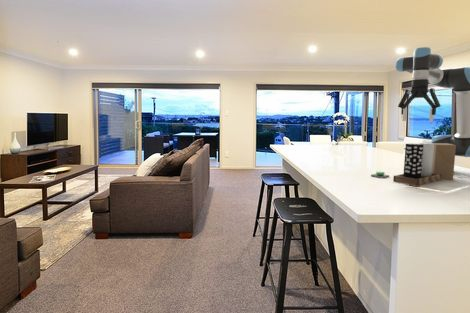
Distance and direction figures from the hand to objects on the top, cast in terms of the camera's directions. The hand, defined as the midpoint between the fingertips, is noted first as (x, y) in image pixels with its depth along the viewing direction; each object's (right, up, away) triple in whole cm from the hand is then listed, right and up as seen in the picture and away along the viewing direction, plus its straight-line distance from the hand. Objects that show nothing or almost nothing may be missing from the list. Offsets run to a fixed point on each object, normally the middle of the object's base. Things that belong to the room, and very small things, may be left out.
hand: (417, 121), depth 182 cm
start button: (-12, -30, +18) cm, 37 cm away
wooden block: (+21, -31, +17) cm, 41 cm away
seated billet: (+9, -31, +11) cm, 34 cm away
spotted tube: (-1, -32, +3) cm, 32 cm away
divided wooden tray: (+4, -32, +7) cm, 33 cm away
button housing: (-12, -31, +18) cm, 37 cm away
